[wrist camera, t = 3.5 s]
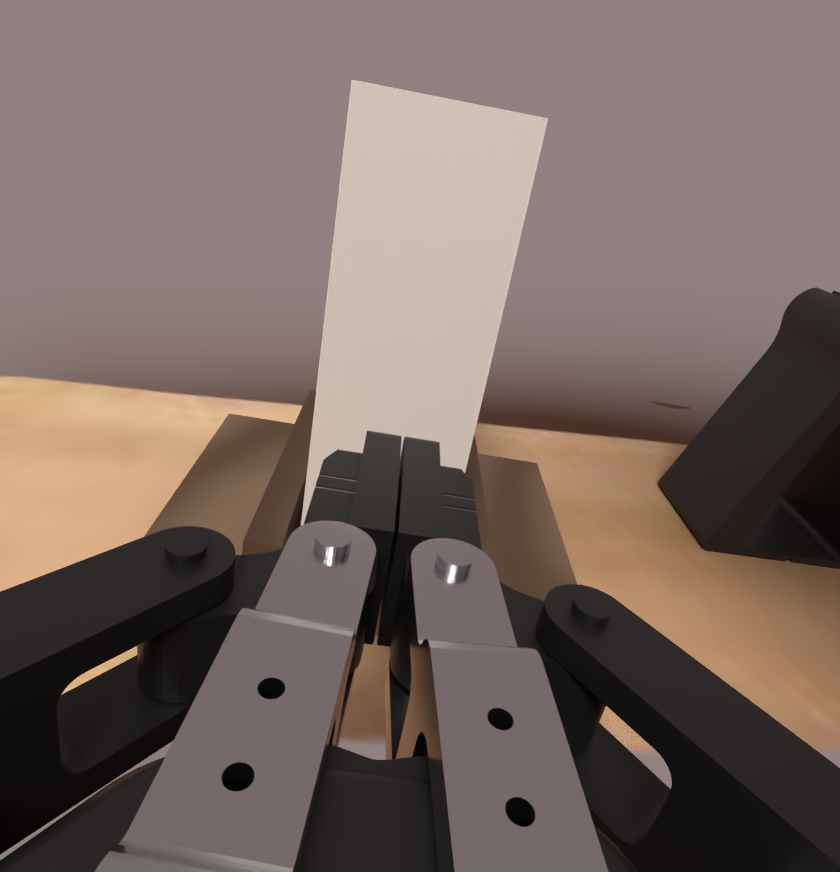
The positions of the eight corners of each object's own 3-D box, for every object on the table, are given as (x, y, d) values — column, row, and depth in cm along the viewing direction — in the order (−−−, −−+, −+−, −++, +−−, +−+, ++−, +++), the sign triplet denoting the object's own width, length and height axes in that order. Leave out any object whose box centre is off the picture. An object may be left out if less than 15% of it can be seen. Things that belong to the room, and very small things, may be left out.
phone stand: (700, 549, 31) (807, 304, 26) (656, 486, 36) (738, 273, 31) (874, 574, 32) (1011, 340, 27) (806, 508, 37) (909, 304, 32)
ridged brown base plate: (532, 479, 34) (546, 429, 33) (587, 663, 22) (613, 595, 21) (228, 431, 33) (231, 376, 32) (119, 597, 21) (117, 522, 20)
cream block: (436, 511, 27) (521, 120, 21) (438, 587, 23) (548, 118, 16) (318, 492, 27) (368, 90, 21) (295, 566, 22) (351, 79, 16)
